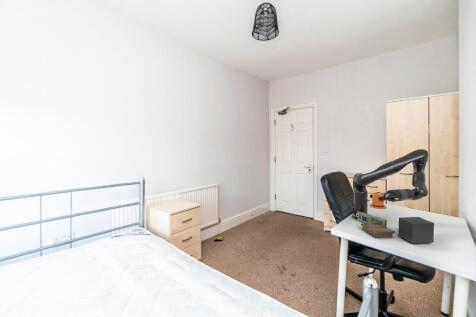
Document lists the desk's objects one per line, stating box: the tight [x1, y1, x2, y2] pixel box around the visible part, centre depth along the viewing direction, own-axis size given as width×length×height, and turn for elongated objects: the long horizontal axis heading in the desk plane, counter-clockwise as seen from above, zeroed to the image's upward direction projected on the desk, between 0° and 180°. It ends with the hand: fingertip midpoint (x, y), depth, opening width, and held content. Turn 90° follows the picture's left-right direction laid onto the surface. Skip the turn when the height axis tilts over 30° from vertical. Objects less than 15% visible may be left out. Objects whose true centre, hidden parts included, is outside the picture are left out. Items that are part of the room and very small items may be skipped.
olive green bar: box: [351, 211, 388, 228], centre depth 150 cm, size 7×3×25 cm
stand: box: [360, 222, 395, 239], centre depth 134 cm, size 14×12×4 cm
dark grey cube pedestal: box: [398, 216, 435, 245], centre depth 123 cm, size 10×12×12 cm
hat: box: [368, 192, 388, 210], centre depth 133 cm, size 9×9×8 cm
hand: (374, 197), depth 133 cm, fingers closed on hat, 6 cm apart
